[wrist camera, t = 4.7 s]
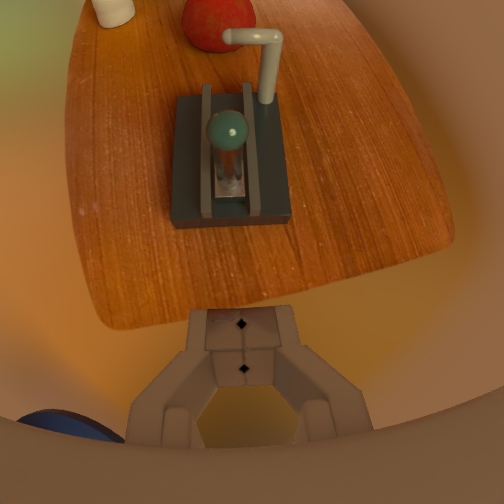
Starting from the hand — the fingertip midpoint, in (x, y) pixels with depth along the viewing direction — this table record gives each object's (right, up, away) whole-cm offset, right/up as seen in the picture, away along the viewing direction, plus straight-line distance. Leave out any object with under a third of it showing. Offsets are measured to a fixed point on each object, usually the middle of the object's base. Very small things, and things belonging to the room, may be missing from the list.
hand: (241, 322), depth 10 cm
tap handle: (-2, +9, +22) cm, 24 cm away
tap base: (-2, +13, +26) cm, 29 cm away
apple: (-5, +35, +31) cm, 47 cm away
